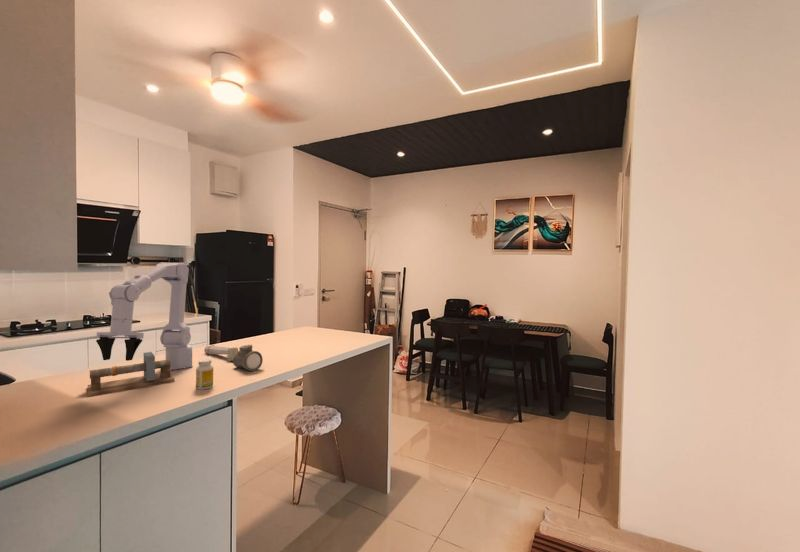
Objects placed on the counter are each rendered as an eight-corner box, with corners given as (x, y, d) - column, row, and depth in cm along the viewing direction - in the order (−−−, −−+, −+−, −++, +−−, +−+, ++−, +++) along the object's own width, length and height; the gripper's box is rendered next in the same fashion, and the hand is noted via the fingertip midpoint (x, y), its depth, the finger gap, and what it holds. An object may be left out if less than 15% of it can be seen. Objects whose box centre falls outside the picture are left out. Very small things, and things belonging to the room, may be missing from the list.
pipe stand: (168, 374, 140) (168, 355, 140) (174, 381, 132) (174, 361, 132) (87, 387, 124) (87, 366, 124) (88, 396, 116) (88, 374, 116)
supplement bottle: (192, 389, 124) (192, 362, 124) (201, 384, 130) (201, 358, 129) (208, 389, 124) (208, 362, 124) (216, 384, 130) (216, 358, 129)
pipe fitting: (264, 367, 150) (261, 343, 150) (247, 374, 143) (243, 348, 143) (248, 366, 157) (245, 343, 156) (231, 372, 150) (227, 348, 150)
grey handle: (213, 344, 177) (242, 344, 163) (214, 358, 177) (243, 359, 163) (202, 346, 173) (231, 346, 159) (203, 360, 173) (232, 361, 158)
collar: (151, 374, 136) (151, 351, 135) (154, 379, 129) (154, 356, 129) (143, 375, 134) (143, 352, 134) (146, 381, 128) (146, 357, 127)
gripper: (90, 319, 118) (86, 361, 117) (134, 320, 118) (130, 362, 117) (107, 319, 125) (103, 358, 124) (149, 319, 125) (145, 359, 124)
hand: (117, 360), depth 121 cm, fingers open, 7 cm apart
